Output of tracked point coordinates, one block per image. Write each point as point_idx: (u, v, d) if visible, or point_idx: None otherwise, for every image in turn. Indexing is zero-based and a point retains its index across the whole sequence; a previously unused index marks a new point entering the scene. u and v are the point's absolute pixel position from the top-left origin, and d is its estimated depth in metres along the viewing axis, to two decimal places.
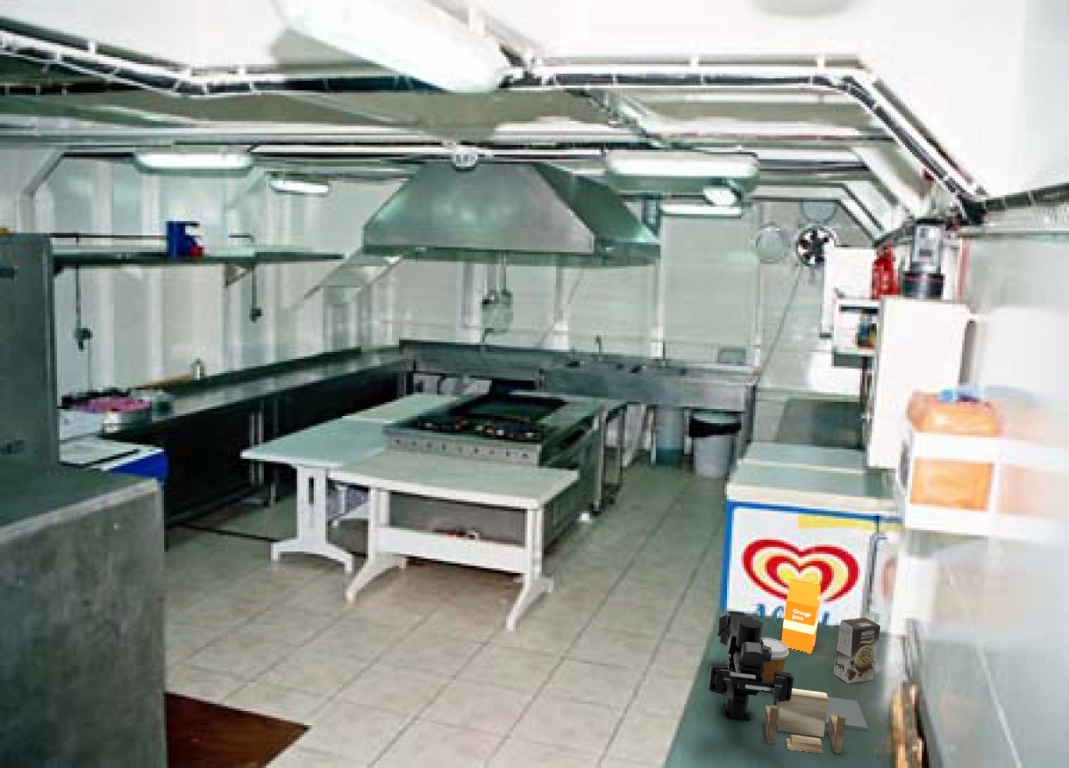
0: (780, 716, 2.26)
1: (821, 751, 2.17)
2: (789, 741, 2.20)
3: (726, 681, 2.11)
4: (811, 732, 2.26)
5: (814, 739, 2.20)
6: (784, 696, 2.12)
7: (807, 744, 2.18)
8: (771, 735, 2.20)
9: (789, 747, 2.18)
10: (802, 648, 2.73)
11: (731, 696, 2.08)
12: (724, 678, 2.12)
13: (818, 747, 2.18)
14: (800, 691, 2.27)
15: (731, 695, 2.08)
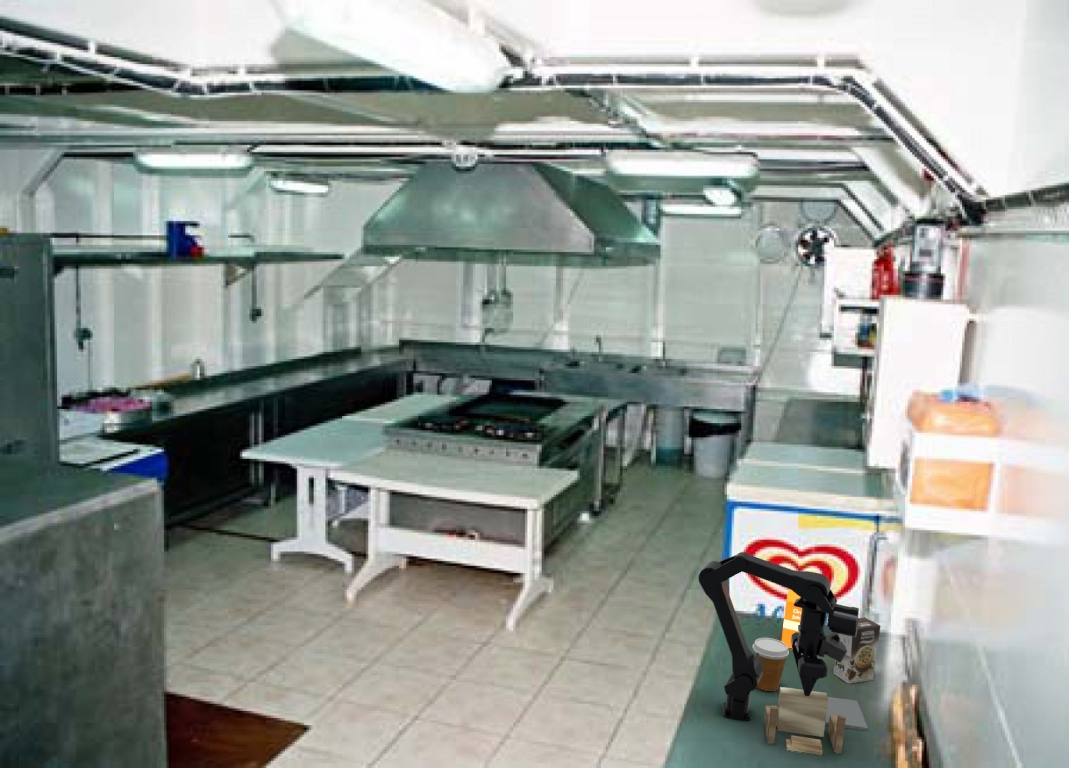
0: (780, 716, 2.26)
1: (821, 752, 2.17)
2: (789, 742, 2.20)
3: (815, 681, 2.19)
4: (811, 732, 2.26)
5: (814, 740, 2.19)
6: None
7: (807, 745, 2.17)
8: (771, 735, 2.20)
9: (789, 748, 2.18)
10: None
11: (807, 693, 2.21)
12: None
13: (818, 748, 2.17)
14: (800, 691, 2.27)
15: (808, 693, 2.21)
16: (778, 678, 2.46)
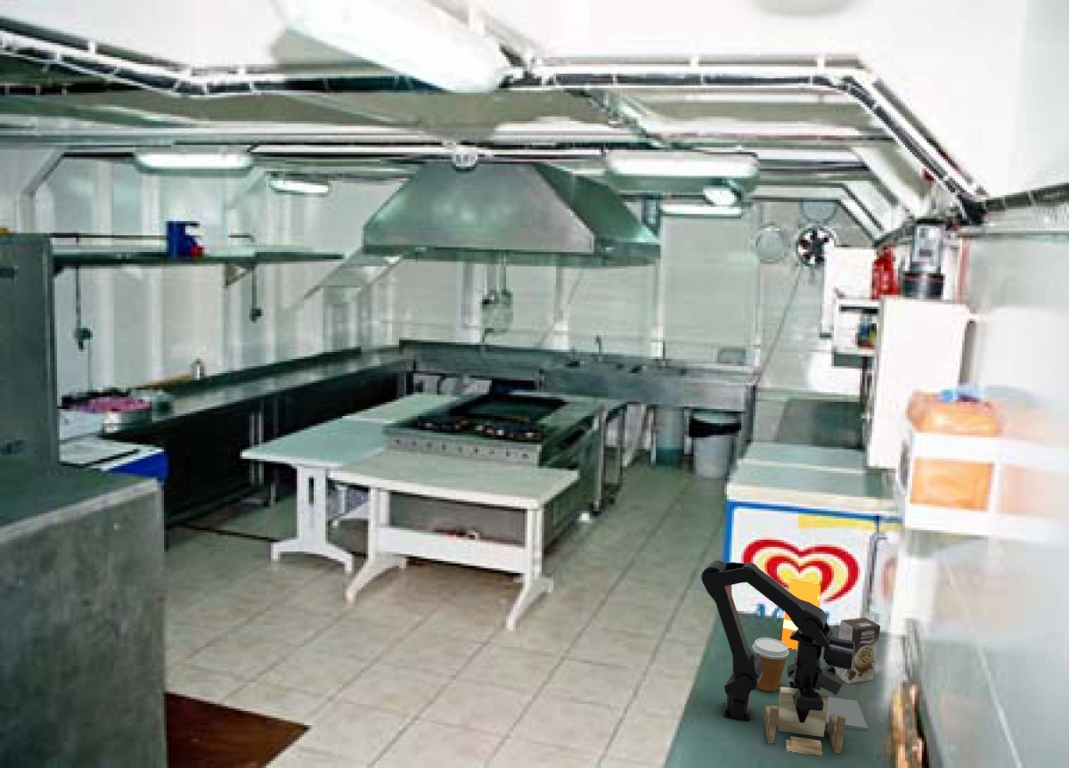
0: (780, 716, 2.26)
1: (821, 753, 2.16)
2: (789, 743, 2.20)
3: None
4: (811, 732, 2.26)
5: (814, 741, 2.19)
6: None
7: (807, 746, 2.17)
8: (771, 735, 2.20)
9: (788, 749, 2.18)
10: None
11: (802, 720, 2.25)
12: None
13: (818, 749, 2.17)
14: None
15: (803, 720, 2.25)
16: (778, 678, 2.46)
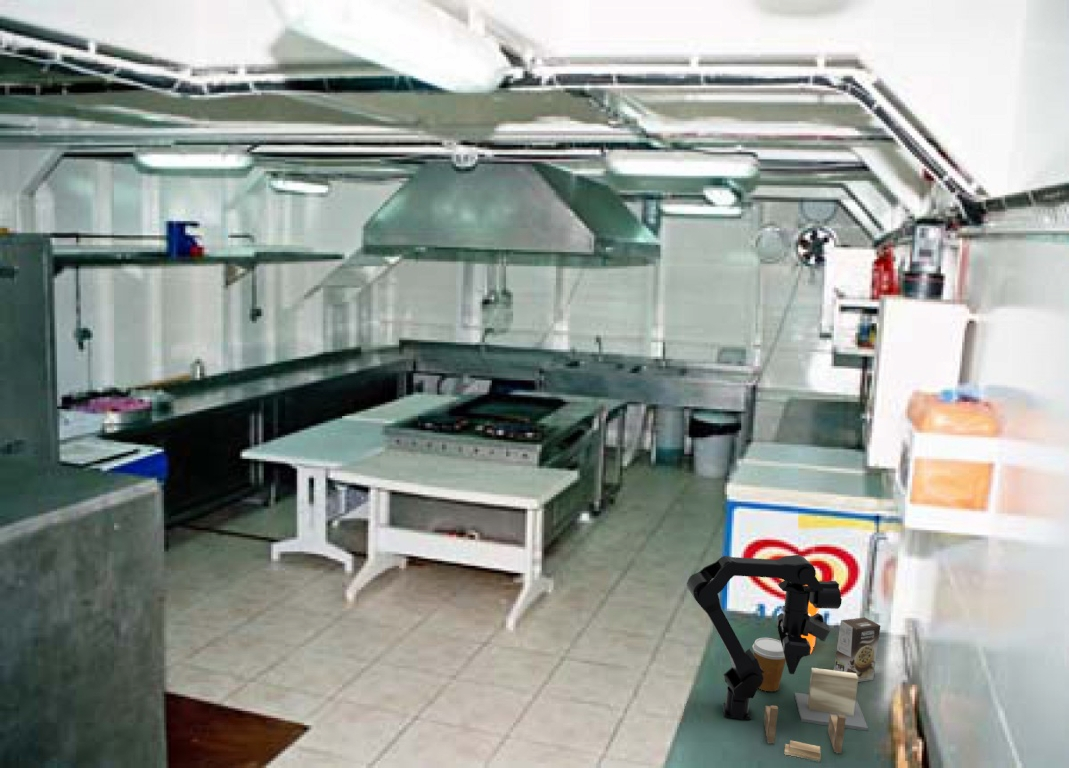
0: (812, 695, 2.36)
1: (819, 759, 2.14)
2: (787, 747, 2.18)
3: (799, 659, 2.27)
4: (841, 711, 2.35)
5: (813, 746, 2.16)
6: None
7: (805, 751, 2.15)
8: (771, 735, 2.20)
9: (786, 753, 2.16)
10: None
11: (791, 672, 2.28)
12: None
13: (816, 755, 2.14)
14: (830, 671, 2.36)
15: (792, 671, 2.28)
16: (778, 678, 2.46)
